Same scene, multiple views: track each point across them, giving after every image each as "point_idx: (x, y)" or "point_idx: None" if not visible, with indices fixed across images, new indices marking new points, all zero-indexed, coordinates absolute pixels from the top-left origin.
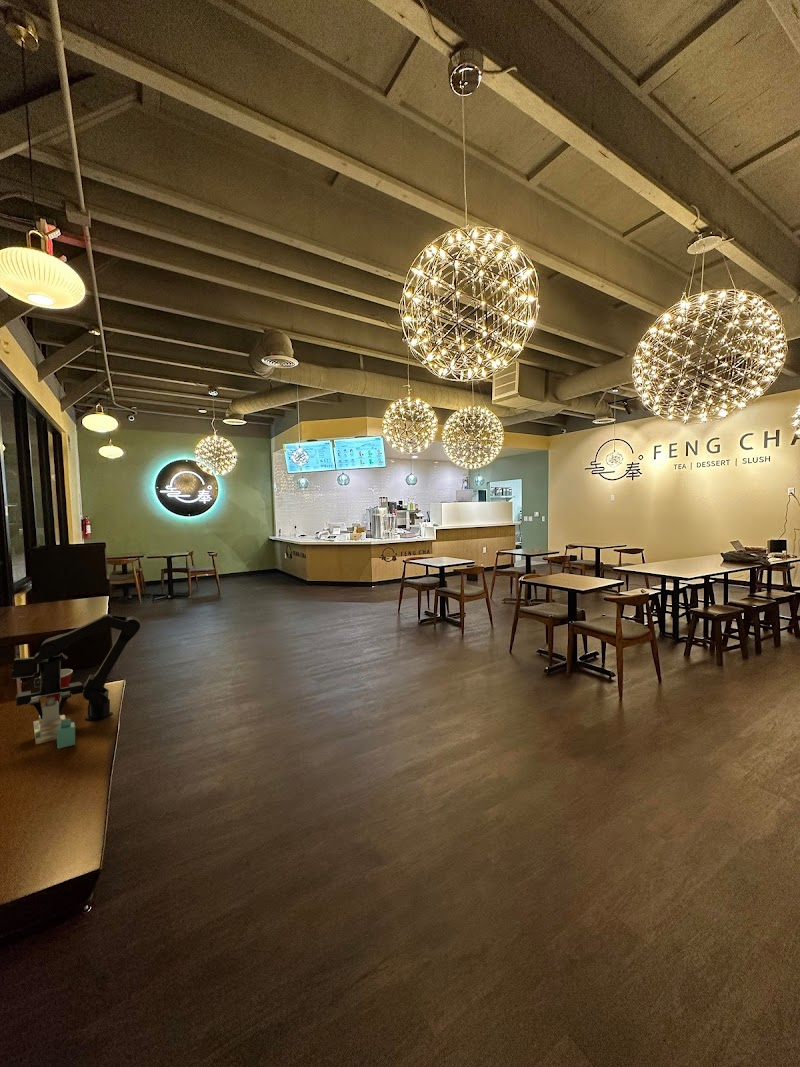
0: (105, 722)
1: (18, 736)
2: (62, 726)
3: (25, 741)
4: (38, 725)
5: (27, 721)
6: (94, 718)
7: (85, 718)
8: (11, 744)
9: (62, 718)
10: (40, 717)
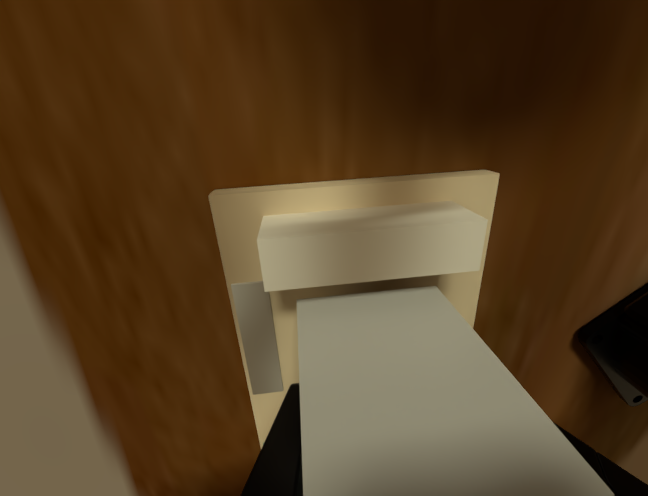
0: (630, 423)
1: (154, 400)
2: None
3: (220, 478)
4: (272, 336)
5: (132, 66)
6: (623, 379)
7: (586, 346)
8: (146, 484)
9: (460, 272)
10: (280, 286)
